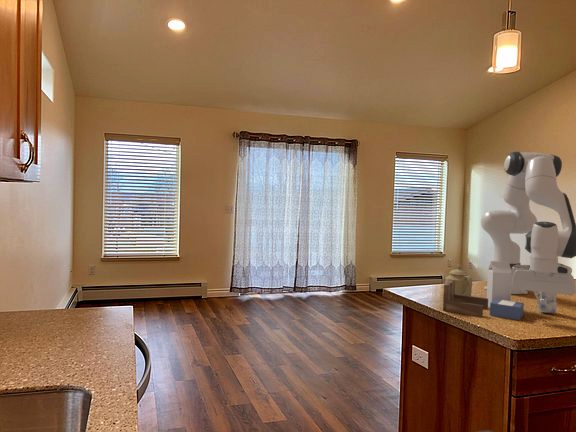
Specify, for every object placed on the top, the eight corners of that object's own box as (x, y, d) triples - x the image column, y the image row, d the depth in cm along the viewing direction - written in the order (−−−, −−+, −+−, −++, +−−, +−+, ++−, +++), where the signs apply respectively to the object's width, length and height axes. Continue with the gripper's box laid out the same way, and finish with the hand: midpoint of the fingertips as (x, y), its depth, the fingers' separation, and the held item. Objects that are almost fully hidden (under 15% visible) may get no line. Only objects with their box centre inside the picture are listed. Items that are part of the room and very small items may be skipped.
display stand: (451, 303, 185) (452, 279, 185) (487, 308, 178) (488, 283, 178) (442, 310, 172) (443, 285, 172) (482, 316, 165) (483, 289, 164)
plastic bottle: (538, 309, 177) (541, 260, 176) (558, 313, 173) (561, 262, 172) (535, 312, 172) (538, 262, 171) (555, 316, 168) (558, 264, 167)
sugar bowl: (484, 299, 193) (485, 265, 193) (468, 302, 187) (470, 267, 187) (455, 293, 206) (456, 261, 205) (439, 295, 200) (441, 262, 199)
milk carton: (510, 310, 175) (512, 263, 174) (491, 309, 176) (493, 262, 175) (504, 306, 182) (506, 260, 181) (486, 305, 183) (488, 259, 182)
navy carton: (494, 311, 174) (495, 298, 174) (523, 316, 168) (523, 302, 168) (489, 316, 167) (490, 302, 167) (519, 321, 161) (519, 307, 161)
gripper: (510, 264, 163) (509, 301, 164) (576, 270, 153) (575, 309, 153) (512, 262, 169) (510, 298, 169) (576, 268, 158) (574, 306, 159)
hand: (541, 304), depth 161 cm, fingers closed
